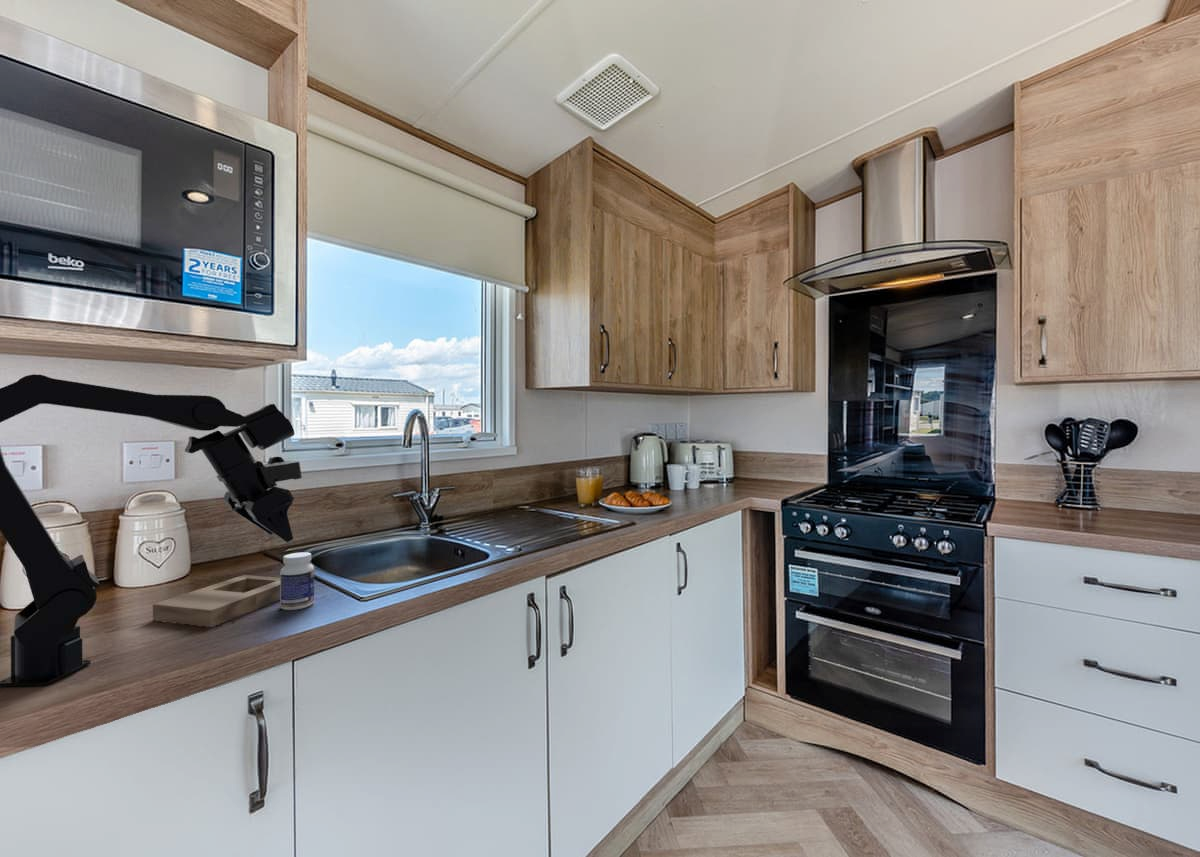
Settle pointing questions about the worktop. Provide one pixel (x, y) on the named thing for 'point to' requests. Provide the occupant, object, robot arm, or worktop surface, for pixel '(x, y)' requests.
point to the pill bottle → (296, 581)
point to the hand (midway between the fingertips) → (281, 536)
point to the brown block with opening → (219, 601)
